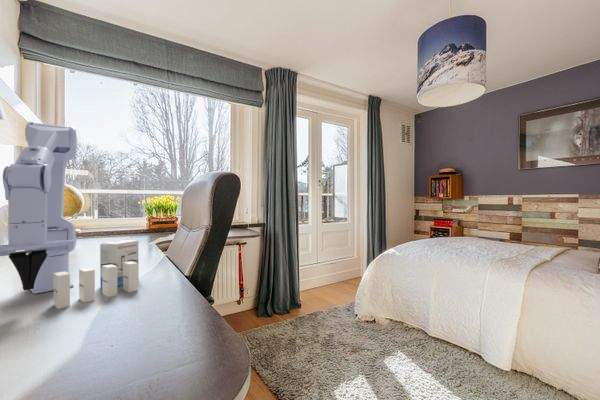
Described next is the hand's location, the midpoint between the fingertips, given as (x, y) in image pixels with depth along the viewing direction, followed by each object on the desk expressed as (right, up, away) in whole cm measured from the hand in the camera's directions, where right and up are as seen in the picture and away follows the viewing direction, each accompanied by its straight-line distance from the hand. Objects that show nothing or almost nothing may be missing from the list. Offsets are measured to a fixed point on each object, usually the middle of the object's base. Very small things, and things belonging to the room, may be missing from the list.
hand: (28, 288), depth 57 cm
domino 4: (+12, -5, +15) cm, 20 cm away
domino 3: (+9, -5, +11) cm, 15 cm away
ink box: (+5, -5, +21) cm, 22 cm away
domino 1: (+3, -5, +4) cm, 7 cm away
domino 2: (+6, -5, +8) cm, 11 cm away
